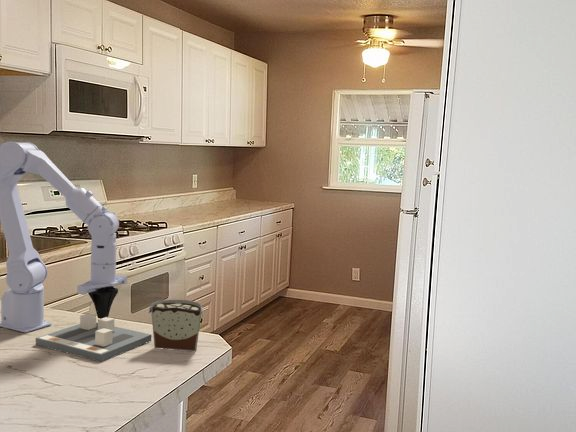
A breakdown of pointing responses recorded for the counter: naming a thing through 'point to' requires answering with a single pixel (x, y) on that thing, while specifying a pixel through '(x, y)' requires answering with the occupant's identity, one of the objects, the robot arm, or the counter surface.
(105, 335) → the tab
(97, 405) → the counter surface
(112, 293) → the robot arm
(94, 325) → the beige small block
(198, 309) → the food container
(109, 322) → the tab
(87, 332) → the switch board
